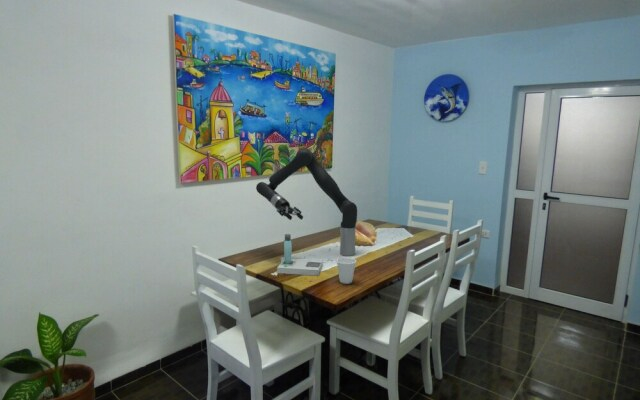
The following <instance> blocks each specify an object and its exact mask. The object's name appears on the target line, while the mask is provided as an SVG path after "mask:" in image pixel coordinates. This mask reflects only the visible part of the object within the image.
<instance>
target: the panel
mask: <svg viewBox="0 0 640 400" xmlns="http://www.w3.org/2000/svg"><path fill="white" fill-rule="evenodd" d="M323 263H324V261H323V260H316V259H304V258H303V259H302V258H300V259H299V258H292V265H291V264H284V259H283V260H282V261H281V262H280V263H279V265H278V266H277V267H276V271H277V272H276V274H284V273H285V275H286V274H287V275H303V276H304V275H305V276H317V277H318V276H320V273H321V270H322V268H323V266H324V264H323Z"/></svg>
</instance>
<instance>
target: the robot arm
mask: <svg viewBox="0 0 640 400" xmlns="http://www.w3.org/2000/svg"><path fill="white" fill-rule="evenodd" d="M304 167H305V168H307V169H308V171H309V172H310V174H311V175H312V177H313V179H314V181H315V183H316V184H317V185H318V187H319V188H320V189H321V190H322V191H323V193H325V194H326V195H327V196H328V197H329V198H330V199H331V200H332V202H333V203H334V204H335V205H336V207H337V208H338V211H339V212H340V213H341V214H342V218H341V222H340V235H339V236H340V245H339V249H340V250H339V254H340V255H342V256H344V257H352V256H354V255H355V254H356V225H357V222H358V206H357V204H355V202H353V201H351V200H349V198H347V197H346V196H345V195H344V194H343V192H342V191H341V189H340V187H339V185H338V184H337V182H336V180H335V179H334V178H333V177H332V175H330V174H329V173H328V171H326V169H325V168H324V167H323V166H322V165H321V164H320V163H319V161H318V160H317V159H316V157H315V156H314V154H313V153H312V151H311V150H310V149H309V148H307V147H300V148H299V149H298V150H297V152H296V154H295V156H294V157H293V159H292V160H291V161H290V162H289V163H287V164H286V165H285V166H283V167H281V168H279V169H278V170H276V172H274V173H273V174H272V175H270V177H269V179H268V182H269V183H266V182H264V181H261V182H258V183H257V184H256V188H255V189H256V192H257V193H258V194H259V195H261V196H262V197H263V198H265V199H266V200H267V201H268V202H269V203H270V204H272V205H271V206H273V207H274V208H275V209H276V212H277V213H278V214H279V215H280V216H281V217H285V218H286V219H288V220H289V221H291V220H292V219H293V216H296V217H297V218H298V219H299V220H303V218H304V215H302V211H301V210H300V209H299V208H298V207H296V206H294V207H293V206H291V204H290V202H289V201H288V200H287V199H286V198H284V196H282V195H281V194H279V193H278V192H277V191H276V190H277V188H278V186H280V185H281V184H282V183H283V182H285V181H286V180H287V179H288V178H289V177H290V176H292V175H293V174H294V173H296V172H297V171H300V169H302V168H304Z"/></svg>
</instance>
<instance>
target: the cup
mask: <svg viewBox="0 0 640 400" xmlns="http://www.w3.org/2000/svg"><path fill="white" fill-rule="evenodd" d="M356 264H357V260H356V259H355V258H352V257H340V258H337V259H336V265H337V270H338V276H339V281H340V283H341V284H343V285H344V284H345V285H349V284H352V283H353V279H354V274H355V273H354V272H355V269H356Z"/></svg>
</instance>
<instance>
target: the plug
mask: <svg viewBox="0 0 640 400" xmlns="http://www.w3.org/2000/svg"><path fill="white" fill-rule="evenodd" d="M291 235H292V234H290V233H289V234H288V233H286V234H284V240H283V248H284V249H283V252H284V253H283V254H284V255H283V257H284V258H283V260H284V264H291V265H292V259H293V256H292V255H293V254H292V252H293V250H292V246H293V245H292V239H291Z"/></svg>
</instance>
